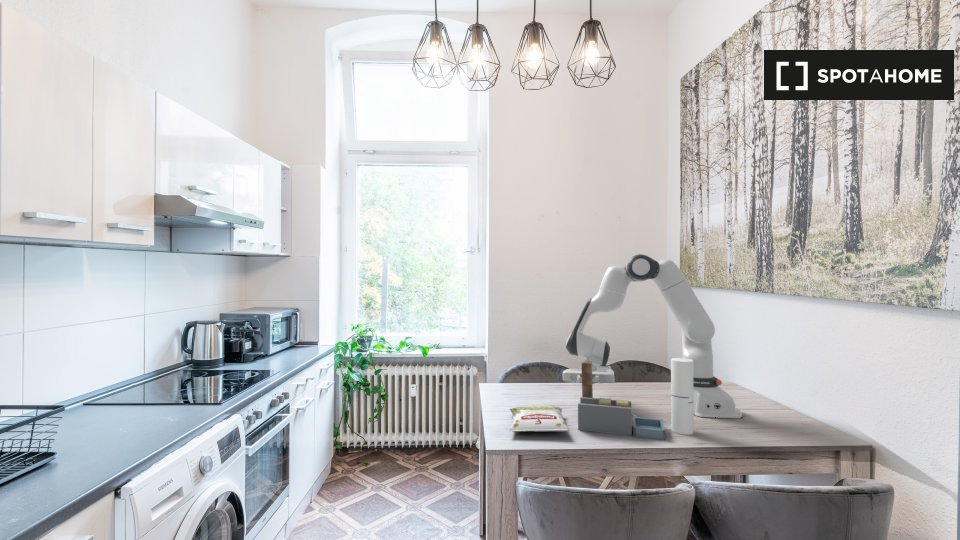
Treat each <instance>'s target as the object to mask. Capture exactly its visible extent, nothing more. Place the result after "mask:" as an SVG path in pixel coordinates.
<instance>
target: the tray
mask: <svg viewBox="0 0 960 540" xmlns="http://www.w3.org/2000/svg"><path fill="white" fill-rule="evenodd" d="M638 417H639V416H638ZM638 417H634V416H632V436H633V437H635V438H642V439H643V438H645V439H652V440H662V441H665V440H666V428H665V425H664V421H663V419H660V418H658V419H657V418H656V419H655V418H648V417H647V418H646V417H639V418H638Z"/></svg>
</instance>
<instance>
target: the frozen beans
mask: <svg viewBox="0 0 960 540" xmlns="http://www.w3.org/2000/svg"><path fill="white" fill-rule="evenodd" d="M509 411H510V412H511V413H512V421H511V426H510V428H509V432H512V433H524V432H525V433H539V432H540V433H542V432H543V433H545V432H546V433H547V432H550V433H551V432H560V433H561V432H563V433H566V432H568V431H570V428H569V427H568V425H567V424H566V422H565V419H564V417H563V414H562V412H563V407H559V406H522V407H521V406H520V407H519V406H517V407H513V408H509Z"/></svg>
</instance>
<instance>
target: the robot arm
mask: <svg viewBox="0 0 960 540" xmlns="http://www.w3.org/2000/svg"><path fill="white" fill-rule="evenodd" d="M647 280H652V281H653V282H654V283H655V284H656V285H657V288H659V291H660V293H661V294H662V296H663V298H664V300H665V301H666V303H667V305H668V307H669V309H670V311H671V312H672V314H673V315H674V317H675V320H676V321H677V322H678V324H679V326H680V329H681V346H682V347H681V348H682V350H681V351H682V358H686V359H691V360H693V408H694V415H695V416H697V417H701V418H715V417H716V418H717V419H718V418H719V419H741V417H743V413H742V411H741V410H740V409H739V408H737V407H736V403H735V399H734V398H733V397H732V396H731V394H729V393H728V392H727V391H725V390H724V389H723V388H722V387H720V386H721V385H722V384H723V381H722V380H721V379H719V378H717V377H716V376H714V355H713V345H712V339H713V338H714V336H715V332H716V328H715V324H714V323H713V321H712V319H711V318H710V315H709V314H708V313H707V311H706V309H705V307H703V305H702V303H701V301H700V300H699V299H698V297H697V295H696V294H695V292H694V289H692V287H691V285H690V284H689V281H688V279H687V278H686V276H685V275H684V273H683V272H682V270H681V269H680V268H679V267H678V265H677V264H676V263H675V262H674V261H673V260H670V259H663V260H660V261H657V260H656V259H653V258H652V257H650V256H648V255H646V254H641V253H639V254H636V255H633V256H632V257H630V258H629V260H628V261H627V262H626V264H624V266H618V265H611V266H609V267H608V268H607V269H606V271H605V273H604V275H603V277H602V280H601V283H600V285H599V289H598V292H597V293H596V294H595V295H594V297H590V298H589V299H588V300H587V301H586V303H585V305H584V307H583V309H582V310H581V313H580V314H579V317H578V319H577V321H576V323H575V325H574V328H573V329H572V331H571V333H570V334H569V336H568V337H567V339H566V341H565V343H566V344H565V348H566V350H567V352H568V354H570V355H572V356H577V357H580V358H584V360H583V361H592V385H594V384H600V383H601V384H614V383H615V381H616V380H615V372H614V370H613V369H612V367H611V366H610V365H607V364H608V362H609V361H608V360H609V357H610V351H611V350H610V349H611V347H610V345H609V343H608V341H607V340H604V339H601V338H597V337H593V336H590V335H587V334H584V329H585V328H586V326H587V324H588V321H589V319H590V318H591V316H592V315H594V314H598V313H600V314H601V313H608V312H609V313H610V312H614V311H617V310H619V309H620V308H621V307H622V305H623V304H624V301H625V298H626V294H627V290H628V287H629V285H630V284H631V283H632V282H646V281H647ZM562 380H563V381H564V382H565V381H566V382H578V383H582V364H580V366H579V369H578V368H567V369H565V370H563V371H562Z"/></svg>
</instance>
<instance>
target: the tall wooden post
mask: <svg viewBox="0 0 960 540" xmlns="http://www.w3.org/2000/svg"><path fill="white" fill-rule="evenodd" d="M581 364H582V382H581V392H582V393H581V394H582V396H581V397H587V398H594V396H593V384H592V361H584V360H582V361H581ZM581 364H580V365H581Z"/></svg>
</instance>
